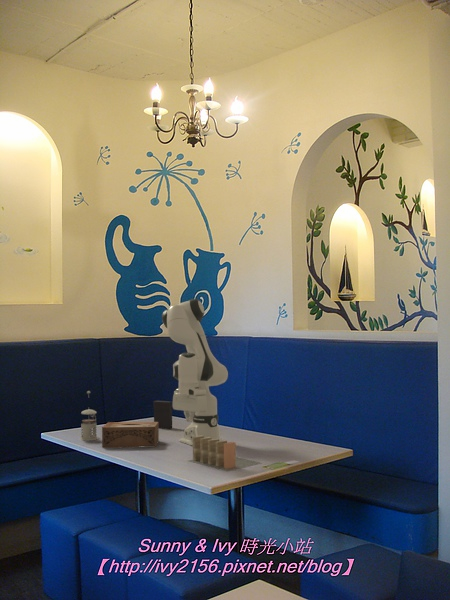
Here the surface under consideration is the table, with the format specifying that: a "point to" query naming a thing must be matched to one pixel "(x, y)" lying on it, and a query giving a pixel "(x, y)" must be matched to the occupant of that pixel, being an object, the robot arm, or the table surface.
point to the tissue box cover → (130, 434)
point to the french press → (88, 426)
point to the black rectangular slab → (163, 413)
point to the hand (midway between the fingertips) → (189, 421)
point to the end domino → (229, 455)
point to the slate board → (239, 464)
